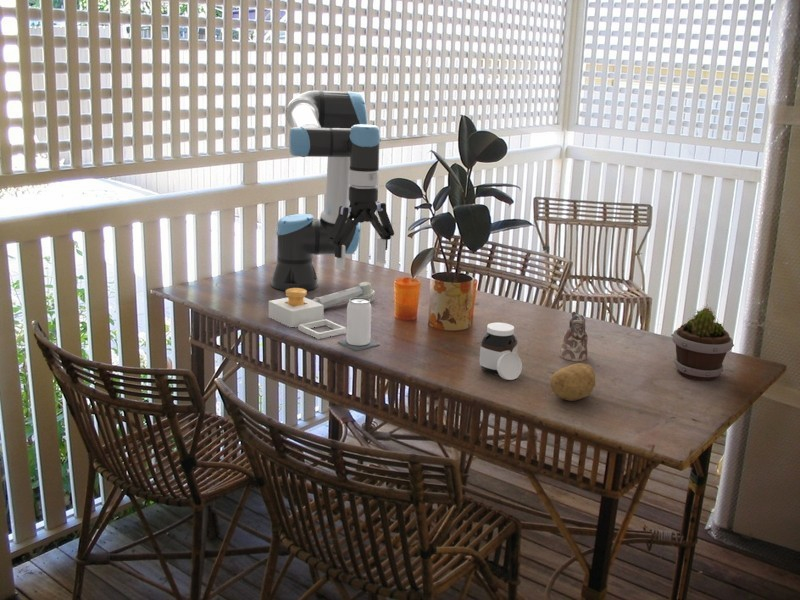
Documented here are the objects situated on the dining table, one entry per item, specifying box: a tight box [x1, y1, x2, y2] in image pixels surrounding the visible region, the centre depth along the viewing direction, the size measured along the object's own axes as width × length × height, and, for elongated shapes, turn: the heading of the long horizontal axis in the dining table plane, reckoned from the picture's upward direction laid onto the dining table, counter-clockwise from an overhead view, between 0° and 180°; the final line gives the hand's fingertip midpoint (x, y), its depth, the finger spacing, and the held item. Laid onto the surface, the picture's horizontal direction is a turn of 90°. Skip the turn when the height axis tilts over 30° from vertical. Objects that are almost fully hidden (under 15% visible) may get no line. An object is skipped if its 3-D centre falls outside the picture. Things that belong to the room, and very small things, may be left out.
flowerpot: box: [670, 304, 735, 381], centre depth 225 cm, size 14×15×20 cm
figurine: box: [559, 311, 589, 362], centre depth 235 cm, size 7×7×12 cm
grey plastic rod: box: [311, 281, 376, 310], centre depth 271 cm, size 5×7×25 cm
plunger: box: [285, 288, 308, 306], centre depth 255 cm, size 6×6×8 cm
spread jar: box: [479, 322, 523, 381], centre depth 221 cm, size 12×11×12 cm
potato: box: [550, 362, 596, 402], centre depth 208 cm, size 10×14×8 cm
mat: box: [337, 339, 380, 352], centre depth 239 cm, size 8×8×1 cm
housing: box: [268, 296, 347, 340], centre depth 252 cm, size 11×24×5 cm, turn 41°
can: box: [345, 297, 372, 346], centre depth 237 cm, size 6×6×12 cm
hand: (360, 265), depth 232 cm, fingers open, 13 cm apart
